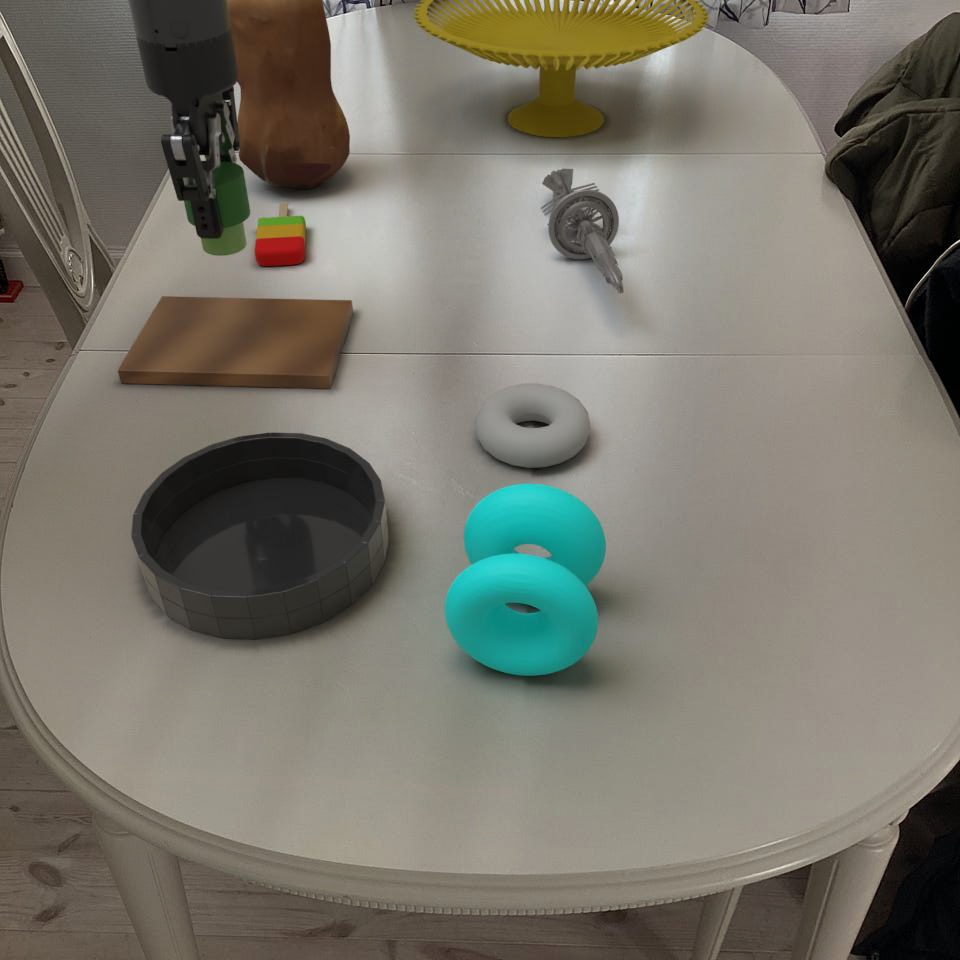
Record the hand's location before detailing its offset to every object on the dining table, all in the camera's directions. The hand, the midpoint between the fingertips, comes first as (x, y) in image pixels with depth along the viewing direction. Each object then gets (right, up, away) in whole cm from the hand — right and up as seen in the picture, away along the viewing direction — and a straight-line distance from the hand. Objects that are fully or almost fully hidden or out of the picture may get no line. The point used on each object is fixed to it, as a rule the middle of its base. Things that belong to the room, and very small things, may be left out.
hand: (219, 220), depth 92 cm
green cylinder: (0, -2, +2) cm, 2 cm away
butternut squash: (0, +14, +39) cm, 41 cm away
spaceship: (+35, +1, +22) cm, 42 cm away
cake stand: (+35, +29, +56) cm, 72 cm away
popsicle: (0, +5, +27) cm, 28 cm away
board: (0, -10, +9) cm, 13 cm away
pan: (+7, -29, -14) cm, 33 cm away
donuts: (+27, -34, -20) cm, 48 cm away
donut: (+28, -20, -3) cm, 35 cm away
